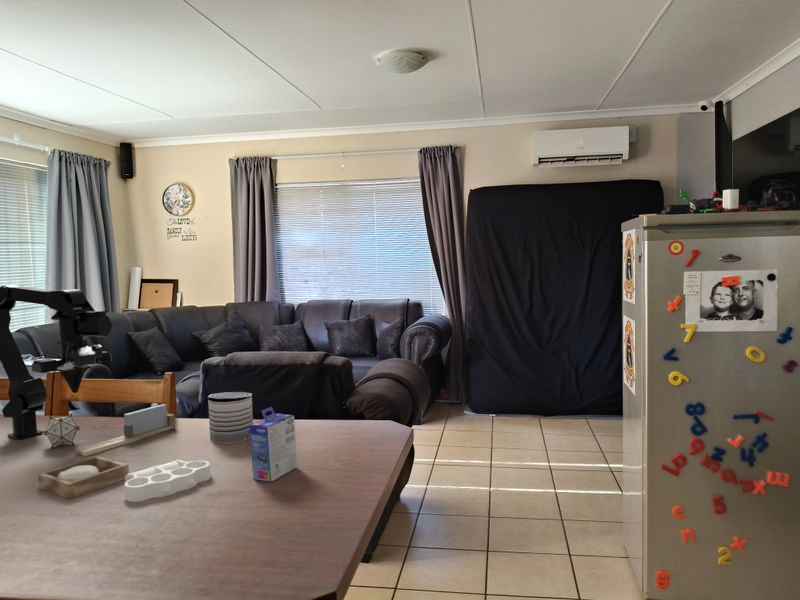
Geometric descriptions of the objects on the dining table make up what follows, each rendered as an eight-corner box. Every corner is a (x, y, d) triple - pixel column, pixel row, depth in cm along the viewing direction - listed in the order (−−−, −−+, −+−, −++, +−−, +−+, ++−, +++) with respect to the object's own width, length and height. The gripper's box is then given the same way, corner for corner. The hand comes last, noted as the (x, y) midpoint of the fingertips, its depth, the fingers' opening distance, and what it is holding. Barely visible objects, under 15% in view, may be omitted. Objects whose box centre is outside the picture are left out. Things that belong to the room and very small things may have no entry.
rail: (76, 453, 147) (75, 438, 146) (166, 426, 169) (165, 412, 168) (85, 456, 144) (84, 440, 144) (175, 428, 167) (174, 414, 166)
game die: (67, 460, 153) (64, 436, 147) (36, 450, 153) (32, 425, 147) (88, 435, 160) (87, 411, 154) (59, 424, 160) (56, 400, 154)
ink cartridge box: (278, 464, 136) (275, 402, 135) (298, 467, 133) (295, 404, 132) (250, 479, 127) (247, 413, 126) (271, 483, 124) (268, 416, 123)
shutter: (124, 436, 157) (122, 414, 156) (163, 424, 167) (162, 403, 166) (129, 437, 155) (128, 415, 155) (168, 425, 166) (167, 404, 165)
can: (200, 440, 155) (198, 395, 154) (233, 428, 165) (231, 386, 164) (230, 446, 149) (228, 400, 148) (263, 434, 159) (261, 390, 158)
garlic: (55, 494, 122) (54, 476, 122) (58, 482, 128) (57, 466, 128) (99, 486, 125) (97, 469, 125) (99, 476, 131) (98, 459, 131)
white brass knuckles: (189, 467, 136) (222, 482, 126) (109, 490, 123) (138, 510, 113) (189, 452, 136) (221, 467, 126) (108, 475, 123) (137, 493, 113)
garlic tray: (39, 488, 125) (38, 474, 125) (97, 468, 136) (96, 455, 136) (70, 499, 118) (69, 484, 118) (129, 477, 129) (128, 464, 129)
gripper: (49, 342, 146) (53, 404, 148) (121, 333, 162) (124, 389, 163) (29, 339, 153) (32, 398, 154) (99, 331, 168) (102, 384, 169)
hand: (75, 392), depth 160 cm, fingers closed
